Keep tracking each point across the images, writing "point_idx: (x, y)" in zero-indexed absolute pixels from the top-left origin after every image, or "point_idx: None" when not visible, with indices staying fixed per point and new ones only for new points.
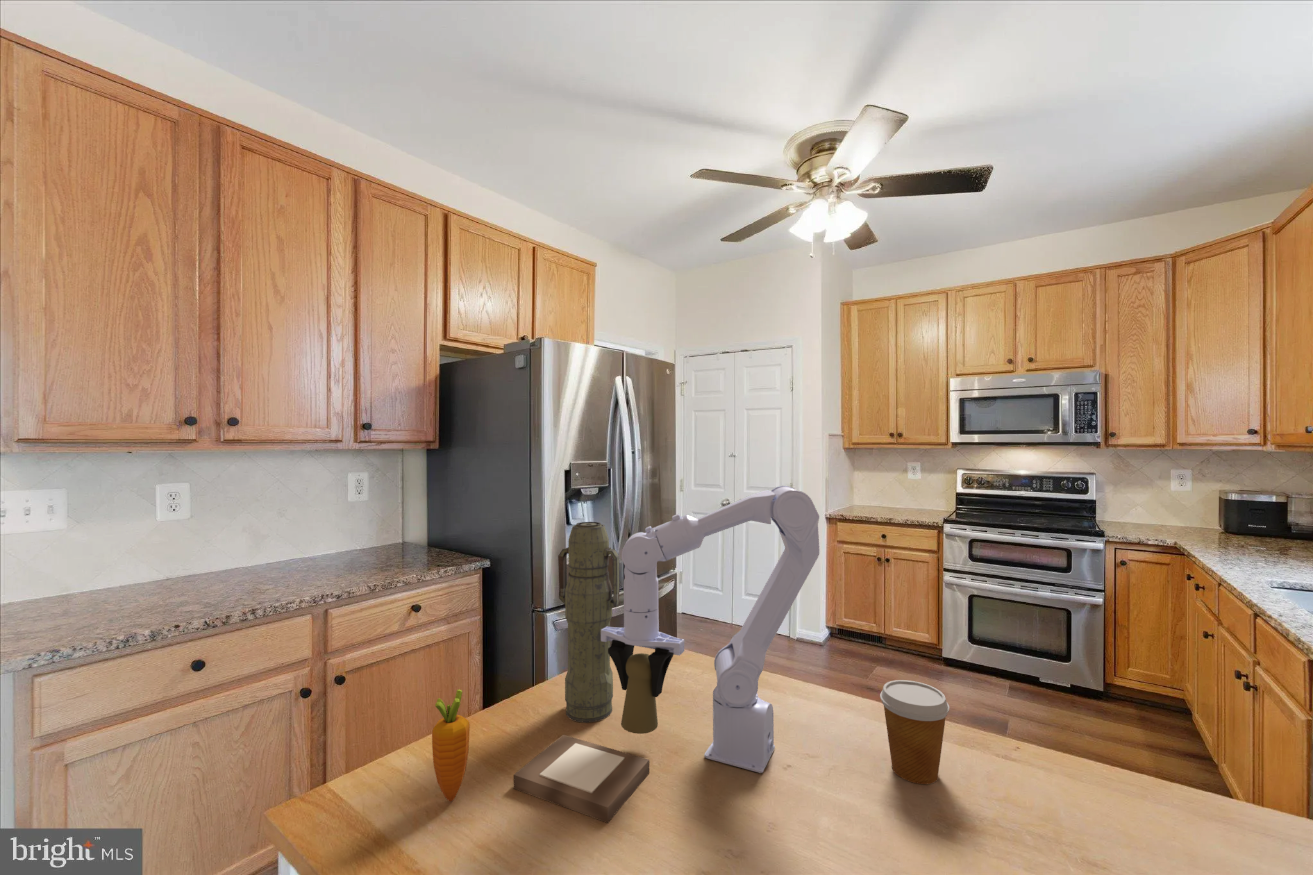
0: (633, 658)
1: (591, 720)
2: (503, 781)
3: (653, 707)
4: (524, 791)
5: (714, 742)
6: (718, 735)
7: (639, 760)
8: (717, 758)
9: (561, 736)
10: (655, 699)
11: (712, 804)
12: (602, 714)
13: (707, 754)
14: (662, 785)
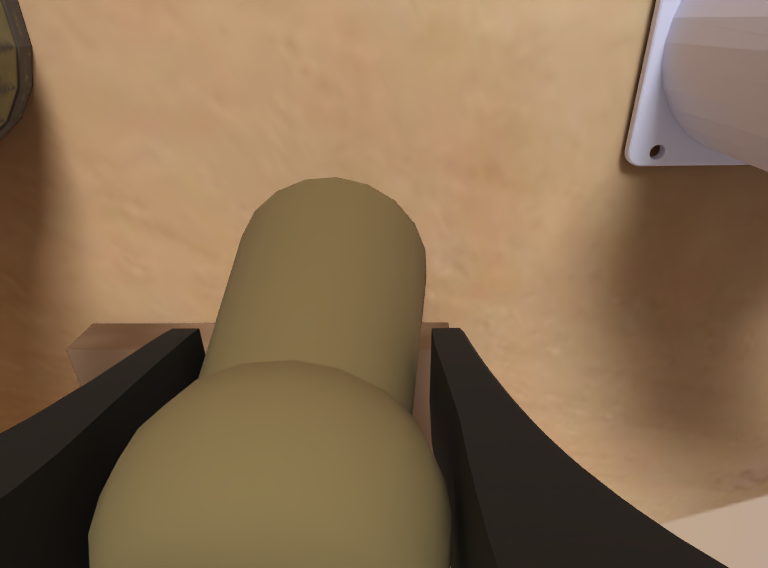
0: None
1: (10, 125)
2: None
3: (420, 330)
4: None
5: (695, 122)
6: (754, 164)
7: (421, 366)
8: (692, 163)
9: (72, 360)
10: (409, 300)
11: (688, 366)
12: (13, 72)
13: (643, 154)
14: (513, 354)
